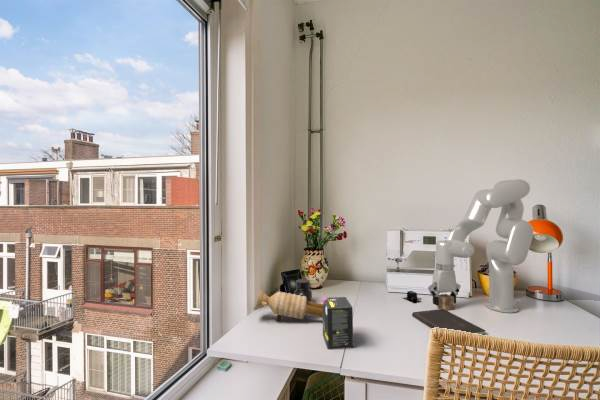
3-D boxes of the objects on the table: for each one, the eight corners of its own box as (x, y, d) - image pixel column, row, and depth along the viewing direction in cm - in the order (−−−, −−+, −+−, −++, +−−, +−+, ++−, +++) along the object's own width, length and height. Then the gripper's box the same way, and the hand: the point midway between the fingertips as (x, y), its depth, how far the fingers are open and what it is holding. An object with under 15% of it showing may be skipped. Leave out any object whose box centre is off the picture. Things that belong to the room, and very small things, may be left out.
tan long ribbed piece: (322, 324, 132) (257, 311, 132) (327, 297, 132) (262, 284, 132) (324, 334, 122) (253, 320, 122) (329, 305, 122) (258, 291, 122)
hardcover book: (443, 313, 134) (443, 308, 134) (485, 336, 111) (485, 330, 111) (412, 317, 130) (411, 312, 130) (449, 341, 108) (448, 335, 108)
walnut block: (446, 306, 142) (446, 293, 142) (454, 310, 137) (453, 297, 137) (437, 307, 140) (437, 294, 140) (445, 311, 136) (444, 298, 136)
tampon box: (322, 335, 113) (321, 297, 113) (346, 334, 114) (345, 296, 114) (327, 349, 102) (326, 307, 102) (353, 348, 103) (353, 306, 103)
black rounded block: (426, 303, 147) (426, 294, 147) (415, 305, 144) (415, 296, 144) (408, 296, 159) (408, 288, 159) (397, 298, 156) (397, 289, 156)
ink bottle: (316, 304, 147) (315, 280, 147) (306, 309, 140) (306, 284, 140) (299, 300, 152) (299, 277, 152) (289, 306, 145) (289, 281, 145)
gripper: (453, 264, 145) (453, 299, 144) (423, 266, 140) (423, 302, 140) (466, 268, 137) (465, 305, 137) (434, 270, 133) (434, 308, 133)
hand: (444, 303), depth 139 cm, fingers open, 9 cm apart
